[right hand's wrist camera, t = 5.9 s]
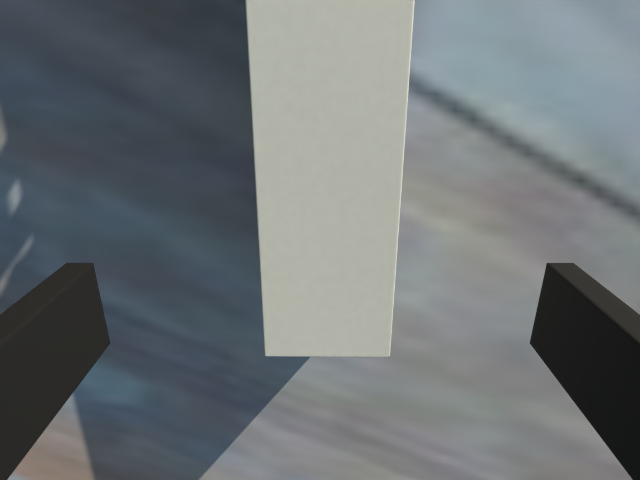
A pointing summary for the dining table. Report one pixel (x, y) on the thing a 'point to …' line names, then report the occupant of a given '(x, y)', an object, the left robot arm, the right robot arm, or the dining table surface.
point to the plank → (328, 169)
